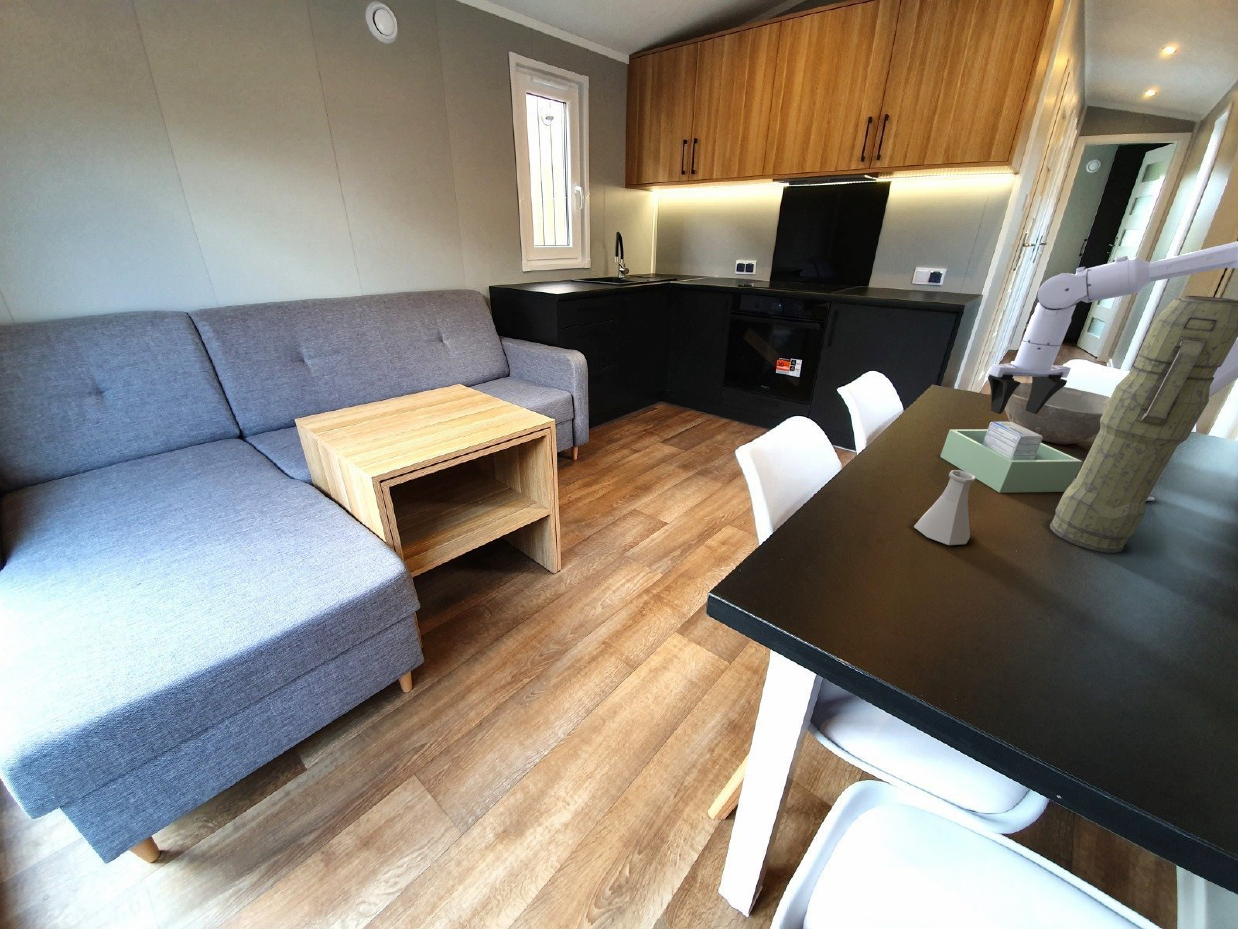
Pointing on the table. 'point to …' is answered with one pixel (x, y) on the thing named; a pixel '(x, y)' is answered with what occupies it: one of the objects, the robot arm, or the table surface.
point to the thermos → (1147, 422)
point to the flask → (949, 512)
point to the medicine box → (1012, 440)
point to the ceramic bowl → (1059, 414)
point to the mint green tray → (1009, 464)
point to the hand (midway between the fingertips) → (1013, 412)
